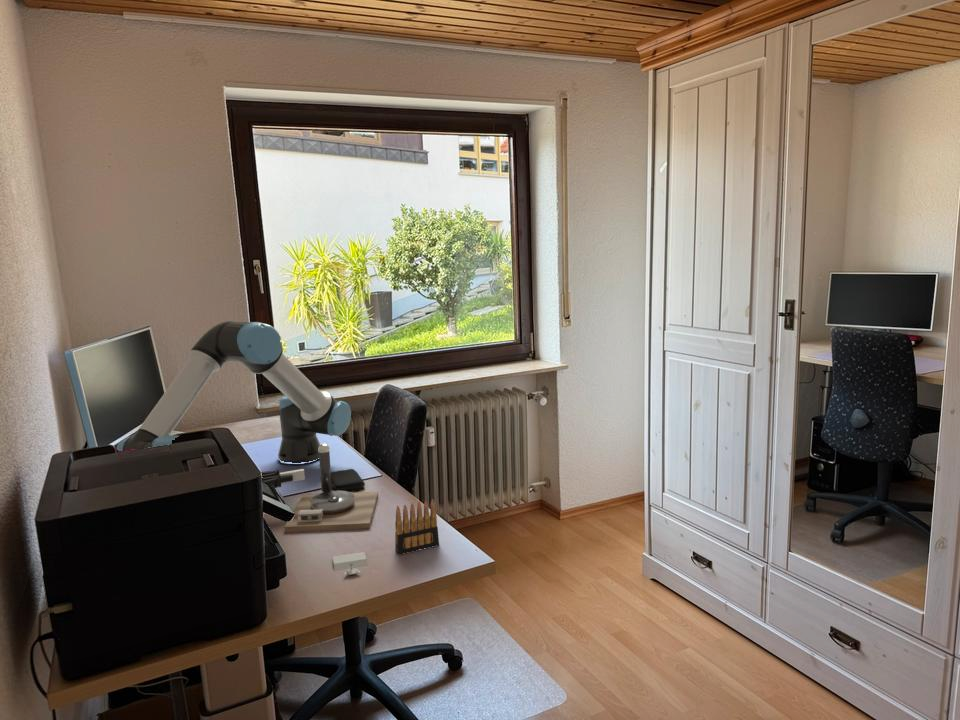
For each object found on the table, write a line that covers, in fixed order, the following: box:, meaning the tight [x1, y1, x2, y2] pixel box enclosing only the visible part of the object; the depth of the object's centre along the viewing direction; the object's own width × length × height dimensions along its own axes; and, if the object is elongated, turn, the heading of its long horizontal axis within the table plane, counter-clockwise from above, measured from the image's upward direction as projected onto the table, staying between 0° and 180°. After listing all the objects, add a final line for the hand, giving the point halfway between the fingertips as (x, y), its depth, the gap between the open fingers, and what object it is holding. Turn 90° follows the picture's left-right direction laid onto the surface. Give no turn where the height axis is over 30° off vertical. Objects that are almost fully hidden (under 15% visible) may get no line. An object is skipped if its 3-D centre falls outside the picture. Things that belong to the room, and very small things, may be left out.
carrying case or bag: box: [331, 468, 366, 492], centre depth 203 cm, size 11×3×15 cm
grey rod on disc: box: [310, 443, 355, 514], centre depth 182 cm, size 15×12×16 cm
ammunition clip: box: [394, 498, 440, 556], centre depth 157 cm, size 11×2×12 cm, turn 114°
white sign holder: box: [332, 551, 368, 577], centre depth 149 cm, size 7×12×2 cm, turn 16°
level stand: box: [284, 491, 379, 533], centre depth 181 cm, size 22×22×4 cm
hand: (304, 474), depth 184 cm, fingers closed
